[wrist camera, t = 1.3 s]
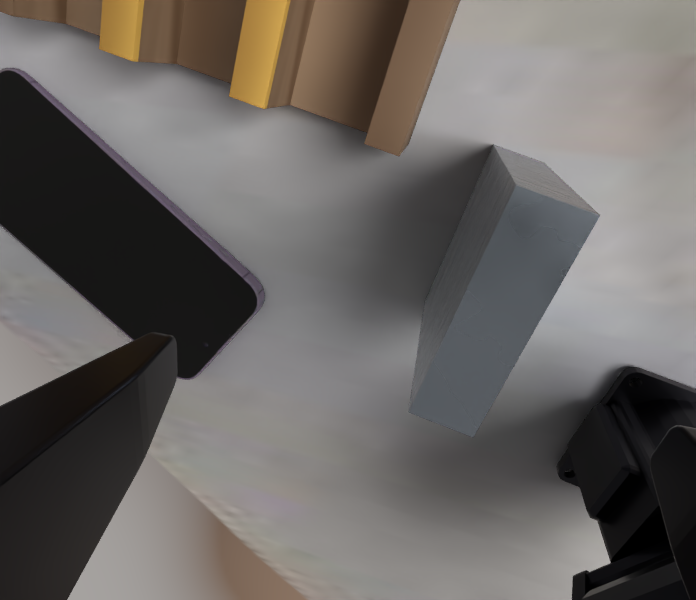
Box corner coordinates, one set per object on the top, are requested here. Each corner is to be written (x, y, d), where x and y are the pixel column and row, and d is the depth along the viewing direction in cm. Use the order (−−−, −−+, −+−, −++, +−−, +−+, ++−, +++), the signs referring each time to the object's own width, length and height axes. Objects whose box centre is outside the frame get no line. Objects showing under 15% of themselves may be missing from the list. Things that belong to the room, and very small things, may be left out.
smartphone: (3, 54, 21) (269, 298, 22) (24, 56, 22) (278, 290, 23) (-52, 182, 24) (186, 388, 25) (-31, 178, 25) (197, 377, 26)
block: (544, 162, 18) (599, 215, 11) (467, 318, 21) (472, 437, 14) (493, 144, 18) (516, 185, 11) (424, 301, 22) (408, 412, 14)
